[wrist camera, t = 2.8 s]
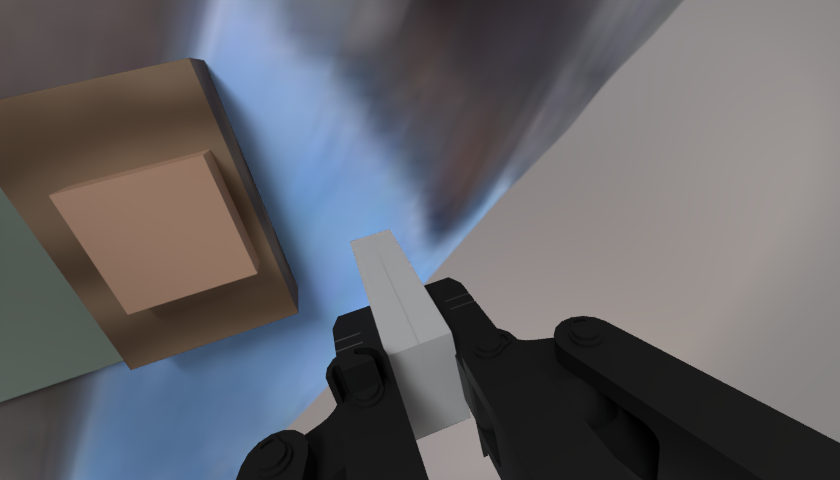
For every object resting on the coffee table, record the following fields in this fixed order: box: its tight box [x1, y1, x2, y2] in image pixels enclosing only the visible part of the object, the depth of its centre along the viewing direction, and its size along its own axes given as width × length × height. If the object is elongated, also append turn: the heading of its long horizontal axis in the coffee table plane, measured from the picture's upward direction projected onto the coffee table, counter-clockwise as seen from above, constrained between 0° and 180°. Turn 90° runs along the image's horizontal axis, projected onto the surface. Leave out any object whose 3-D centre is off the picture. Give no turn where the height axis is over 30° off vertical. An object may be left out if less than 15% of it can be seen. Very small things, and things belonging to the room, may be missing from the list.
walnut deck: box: [0, 58, 298, 370], centre depth 27 cm, size 18×12×4 cm, turn 13°
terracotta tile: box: [49, 150, 260, 315], centre depth 24 cm, size 8×8×2 cm
